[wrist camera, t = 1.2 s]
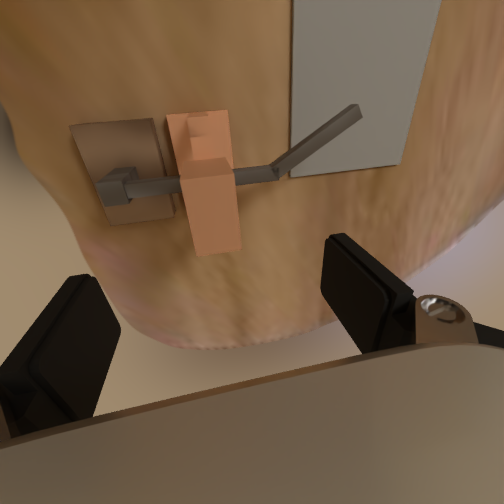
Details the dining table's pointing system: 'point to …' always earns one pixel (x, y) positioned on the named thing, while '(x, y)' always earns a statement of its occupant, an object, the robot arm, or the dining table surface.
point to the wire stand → (153, 170)
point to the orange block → (207, 179)
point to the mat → (357, 77)
